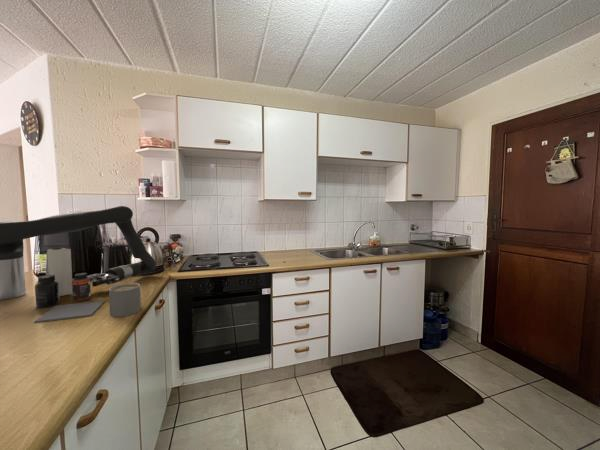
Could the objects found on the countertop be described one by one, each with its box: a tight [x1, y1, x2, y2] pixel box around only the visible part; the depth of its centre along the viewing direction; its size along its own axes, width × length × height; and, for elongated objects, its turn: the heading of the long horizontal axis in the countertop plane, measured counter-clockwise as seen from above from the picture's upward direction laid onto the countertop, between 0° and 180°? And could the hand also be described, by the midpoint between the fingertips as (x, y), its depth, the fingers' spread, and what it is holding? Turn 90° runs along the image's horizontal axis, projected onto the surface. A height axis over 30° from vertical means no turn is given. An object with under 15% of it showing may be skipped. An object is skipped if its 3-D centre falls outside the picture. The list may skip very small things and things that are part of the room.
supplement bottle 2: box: [72, 272, 92, 302], centre depth 107 cm, size 6×6×11 cm
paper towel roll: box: [46, 247, 73, 297], centre depth 110 cm, size 7×6×21 cm
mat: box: [34, 300, 105, 324], centre depth 95 cm, size 16×14×1 cm
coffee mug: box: [108, 282, 142, 318], centre depth 98 cm, size 13×10×10 cm
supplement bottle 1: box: [34, 274, 61, 309], centre depth 100 cm, size 7×7×12 cm
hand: (85, 283), depth 108 cm, fingers open, 8 cm apart
